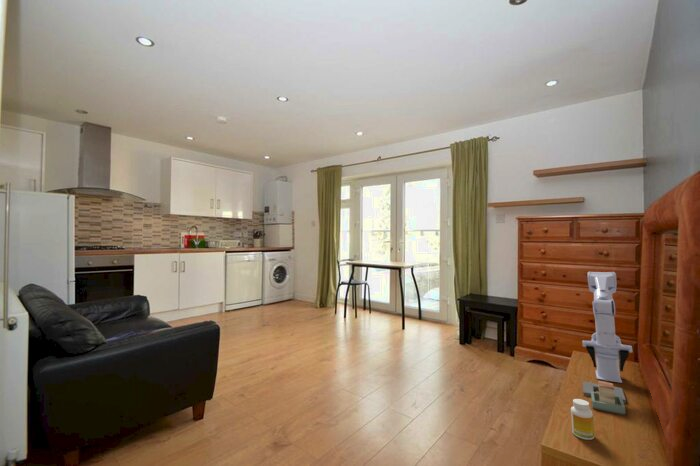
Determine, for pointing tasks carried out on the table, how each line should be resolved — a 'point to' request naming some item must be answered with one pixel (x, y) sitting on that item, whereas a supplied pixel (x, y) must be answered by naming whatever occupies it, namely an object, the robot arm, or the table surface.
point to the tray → (607, 407)
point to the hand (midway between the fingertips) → (607, 368)
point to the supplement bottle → (582, 420)
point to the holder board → (593, 386)
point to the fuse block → (606, 392)
